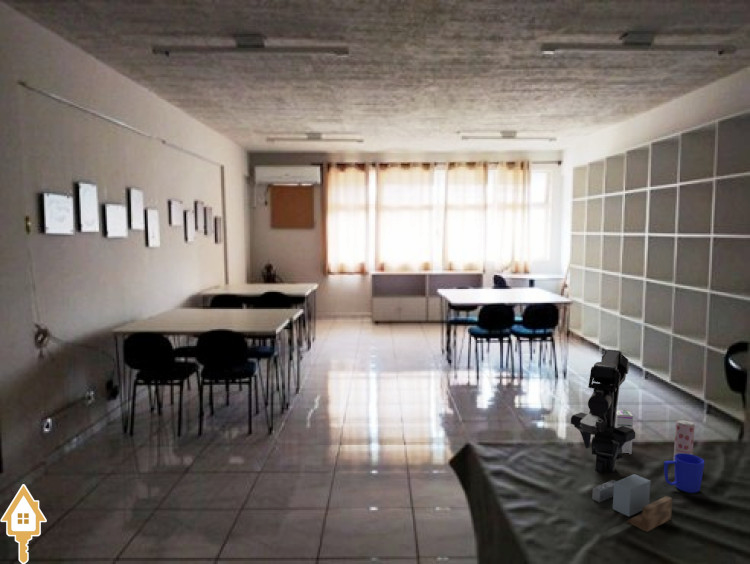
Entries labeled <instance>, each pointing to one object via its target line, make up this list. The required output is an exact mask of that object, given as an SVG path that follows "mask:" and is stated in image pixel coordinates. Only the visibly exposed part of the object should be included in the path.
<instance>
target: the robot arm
mask: <svg viewBox="0 0 750 564" xmlns="http://www.w3.org/2000/svg"><path fill="white" fill-rule="evenodd" d="M629 368H630V364H629V359H628V358H627V357H626V356H625V355H623V351H620V350H618V349H605V350H604V354H603V355H602V356H601V361H597V362H595V363H594V364H593V366H591V367H590V372H589V373H590V374H589V379H588V380H589V381H588V387H587V388H589V389H593V391H592V394H591V396H590V397H589V399H588V401H587V406H588V409H589V413H584V412H578V413H575V414H572V415H571V417H570V425H573V427H574V428H575V429H577V431H579V432H580V435H581V437H582V440H583V443H584V446H585V449H589V448H590V444H591V455H594V456H596V457H595V465H594V467H595V469H594V471H595V472H598V473H600V474H606V473H607V474H612V473H615V471H616V460H618V461H619V460H621V459H622V458H623V454H622V446H623V445H624V444H625V442H628V441H630V440H632V441H633V440H634V439H636V431H635V430H634V429H631V428H628V427H625V426H621V427H618V428H615V422H616V413H617V410H618V404H619V393H620V387H621V386H622V384H623V383H624V382H625V381H626V379H627V378H626V377H627V375H628V374H629V370H630V369H629ZM592 435H593V436H592ZM591 437H592V438H591Z"/></svg>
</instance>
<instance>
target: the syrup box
mask: <svg viewBox="0 0 750 564" xmlns="http://www.w3.org/2000/svg"><path fill="white" fill-rule="evenodd" d="M621 426H625V427H628V428H631V429H633V428H634V415H633V414H632V412H631V411H630V410H625V409H617V413H616V422H615V428H618V427H621ZM633 430H634V429H633ZM632 451H633V439H632V440H630V441H628V442H625V444H624V445H623V446H622V453H629V454H628V455H632V453H633V452H632Z"/></svg>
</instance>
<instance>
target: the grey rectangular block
mask: <svg viewBox="0 0 750 564" xmlns="http://www.w3.org/2000/svg"><path fill="white" fill-rule="evenodd" d="M616 481H617V480H614V479H611V480H609V481H606V482H604V483H602V484H599V485H596V486H593V487H592V494H591V495H592V497H591V499H592V500H593V501H595V502H597V503H601V502H605V501H606V500H608V499H611V498H613V494H614V482H616Z"/></svg>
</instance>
